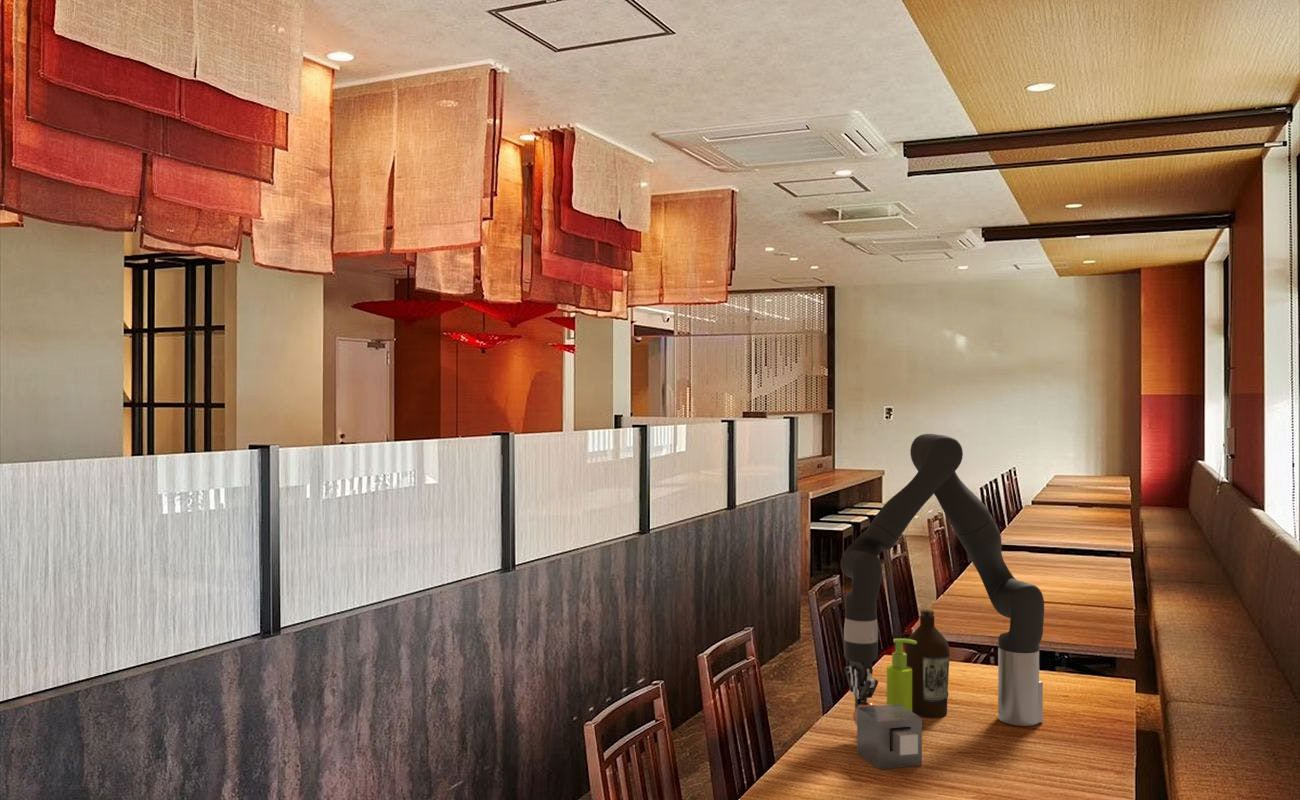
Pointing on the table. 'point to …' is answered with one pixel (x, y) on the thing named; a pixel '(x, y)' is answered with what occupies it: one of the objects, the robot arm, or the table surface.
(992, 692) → the table surface
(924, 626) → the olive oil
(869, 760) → the grey box with hole
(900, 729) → the shaft
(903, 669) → the soap dispenser
